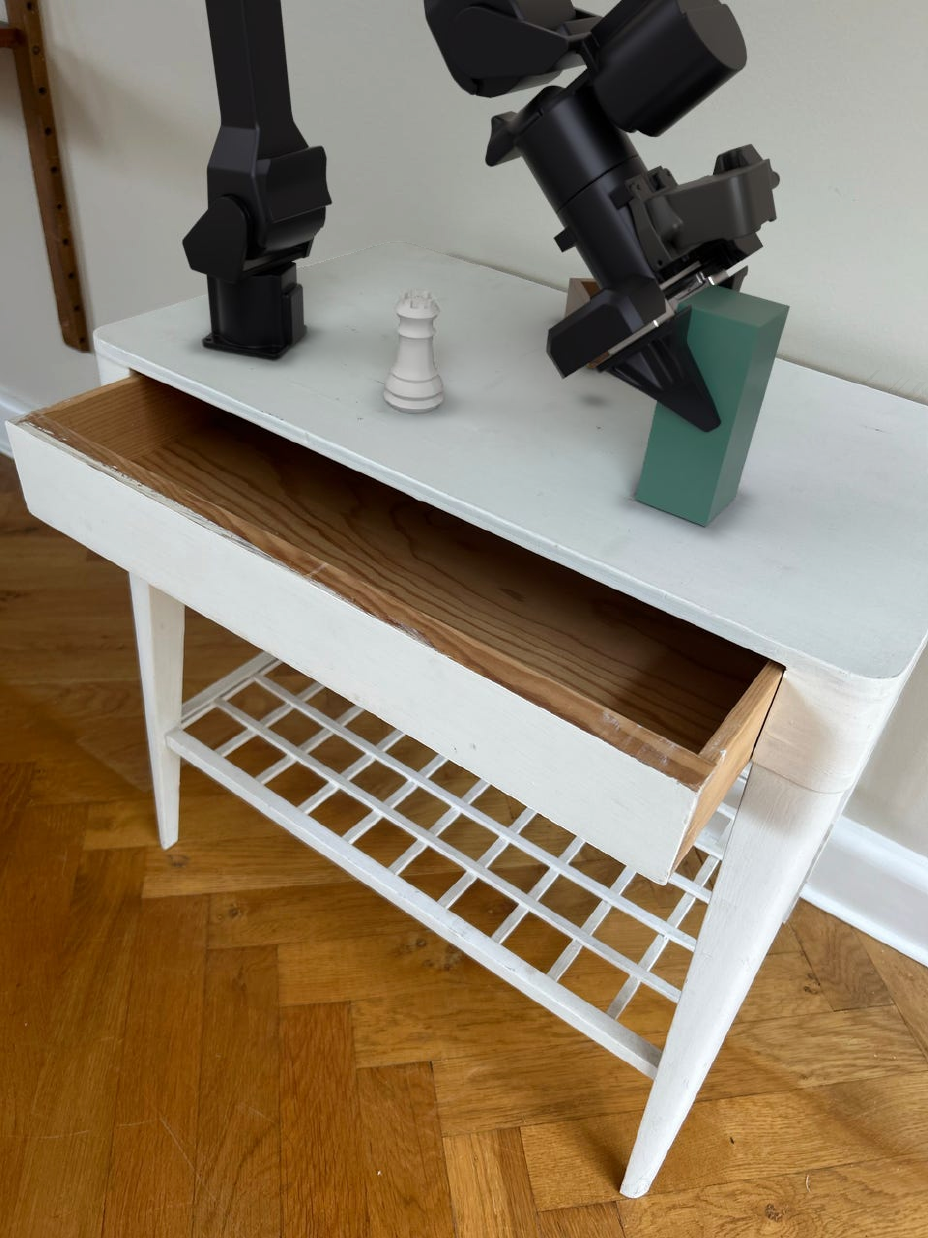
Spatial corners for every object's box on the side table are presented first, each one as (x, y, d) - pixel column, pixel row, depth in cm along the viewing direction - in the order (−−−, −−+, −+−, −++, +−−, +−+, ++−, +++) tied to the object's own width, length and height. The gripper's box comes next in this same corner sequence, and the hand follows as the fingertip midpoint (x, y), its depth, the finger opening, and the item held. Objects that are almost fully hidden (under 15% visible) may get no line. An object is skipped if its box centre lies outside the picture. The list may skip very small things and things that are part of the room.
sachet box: (635, 499, 66) (677, 303, 58) (667, 472, 69) (712, 283, 61) (705, 527, 64) (759, 327, 56) (735, 497, 67) (790, 305, 59)
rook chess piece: (455, 403, 75) (462, 298, 70) (413, 421, 72) (417, 313, 68) (413, 383, 77) (417, 279, 72) (370, 399, 75) (372, 293, 70)
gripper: (631, 123, 47) (795, 409, 50) (768, 75, 60) (893, 305, 62) (478, 252, 55) (625, 493, 58) (628, 186, 68) (743, 385, 70)
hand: (730, 413), depth 62 cm, fingers closed on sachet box, 5 cm apart
